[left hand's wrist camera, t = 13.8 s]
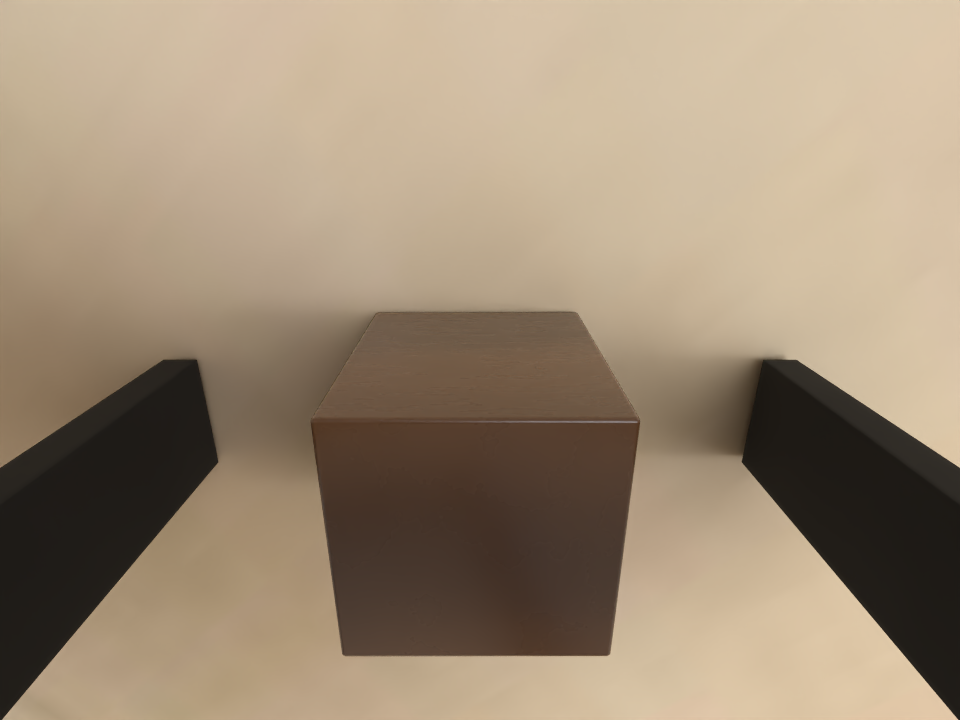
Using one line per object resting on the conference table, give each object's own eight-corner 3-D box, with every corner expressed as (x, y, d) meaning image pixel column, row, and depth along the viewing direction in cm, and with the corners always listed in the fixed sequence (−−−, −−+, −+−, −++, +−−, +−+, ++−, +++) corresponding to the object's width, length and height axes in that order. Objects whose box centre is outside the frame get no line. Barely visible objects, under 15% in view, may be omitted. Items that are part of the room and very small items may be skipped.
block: (375, 311, 12) (308, 419, 7) (577, 311, 12) (642, 419, 7) (388, 481, 13) (340, 658, 9) (565, 481, 13) (611, 657, 9)
